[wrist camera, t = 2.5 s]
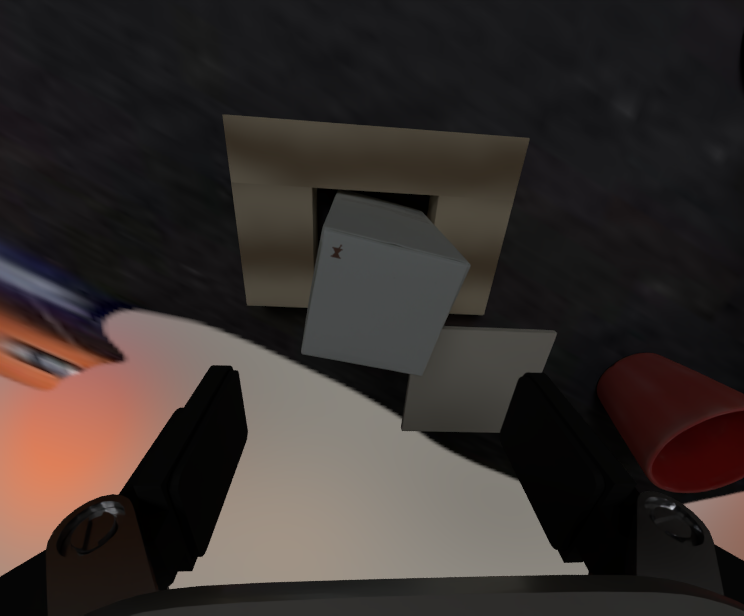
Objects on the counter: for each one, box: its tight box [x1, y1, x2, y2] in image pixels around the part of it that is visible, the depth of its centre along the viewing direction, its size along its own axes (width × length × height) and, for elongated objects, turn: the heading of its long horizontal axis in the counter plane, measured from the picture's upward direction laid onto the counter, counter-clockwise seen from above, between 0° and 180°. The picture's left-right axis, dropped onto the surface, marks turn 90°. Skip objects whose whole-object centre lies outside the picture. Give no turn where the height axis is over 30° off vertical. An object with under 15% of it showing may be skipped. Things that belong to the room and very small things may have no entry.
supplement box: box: [301, 189, 471, 376], centre depth 22 cm, size 7×7×13 cm
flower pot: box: [597, 353, 744, 493], centre depth 31 cm, size 11×11×10 cm
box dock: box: [223, 115, 530, 315], centre depth 25 cm, size 14×20×3 cm
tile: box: [401, 326, 557, 433], centre depth 35 cm, size 14×14×1 cm
